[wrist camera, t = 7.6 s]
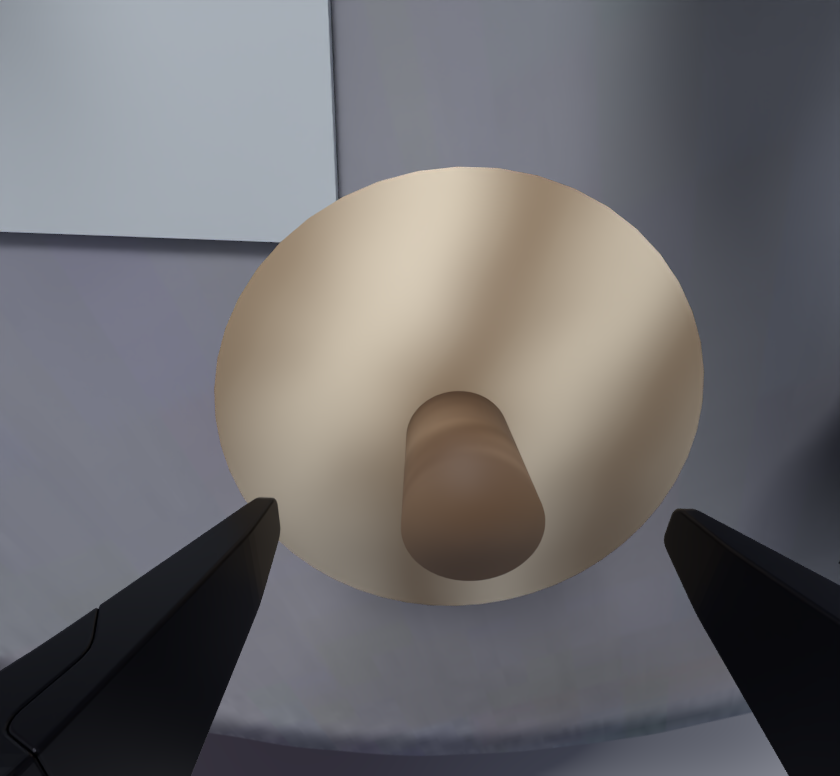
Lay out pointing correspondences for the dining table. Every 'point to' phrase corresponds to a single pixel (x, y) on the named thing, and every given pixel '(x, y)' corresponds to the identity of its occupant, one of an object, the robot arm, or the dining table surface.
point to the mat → (166, 117)
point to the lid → (459, 385)
